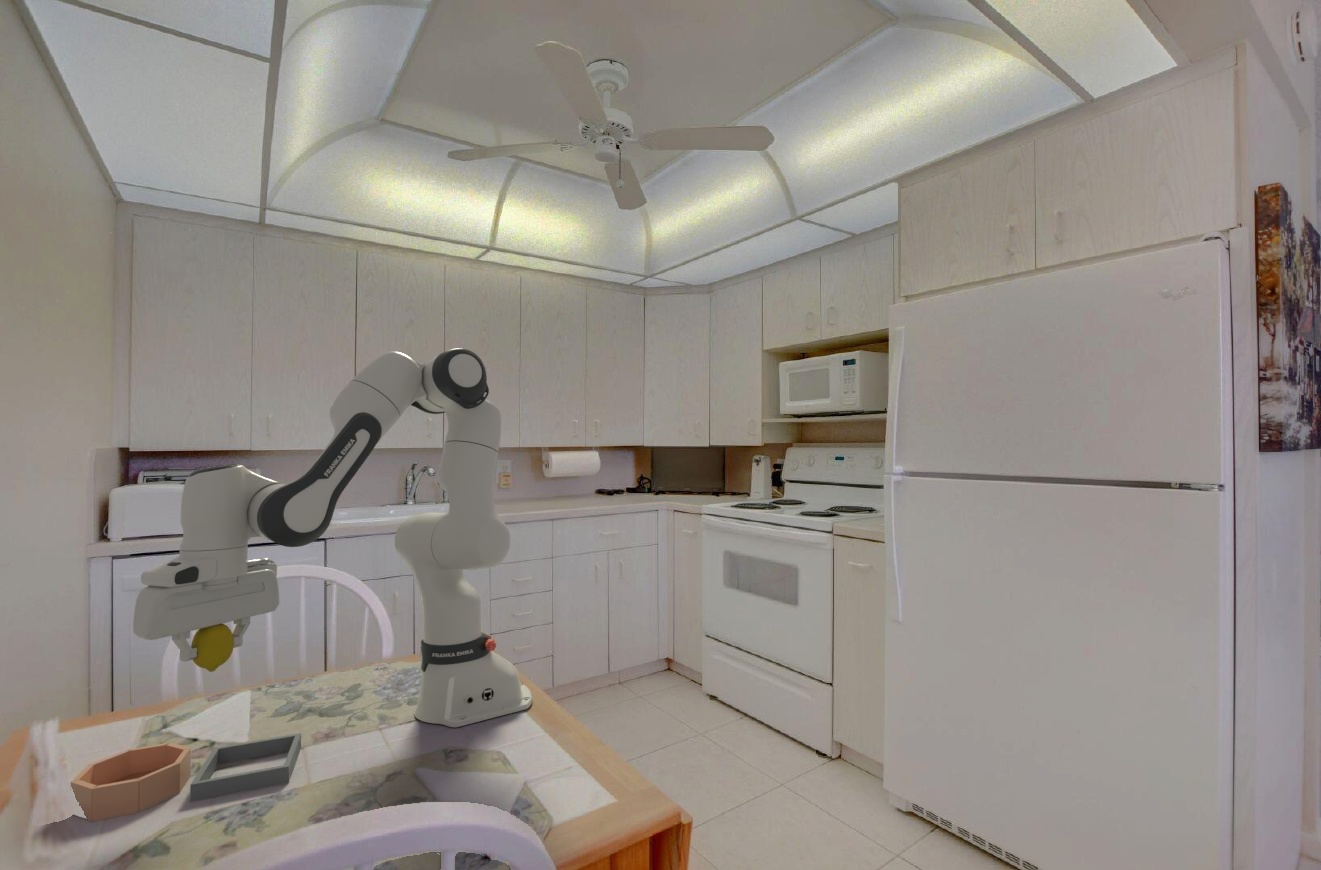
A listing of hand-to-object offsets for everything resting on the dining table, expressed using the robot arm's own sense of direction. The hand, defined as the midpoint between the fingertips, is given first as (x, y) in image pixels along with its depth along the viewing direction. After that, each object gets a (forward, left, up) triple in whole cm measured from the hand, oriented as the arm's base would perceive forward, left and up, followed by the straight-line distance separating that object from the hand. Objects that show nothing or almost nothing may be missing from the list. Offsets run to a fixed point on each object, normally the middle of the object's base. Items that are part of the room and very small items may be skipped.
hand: (212, 653), depth 97 cm
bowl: (+10, 0, -20) cm, 22 cm away
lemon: (0, 0, -3) cm, 3 cm away
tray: (-5, 0, -20) cm, 20 cm away
